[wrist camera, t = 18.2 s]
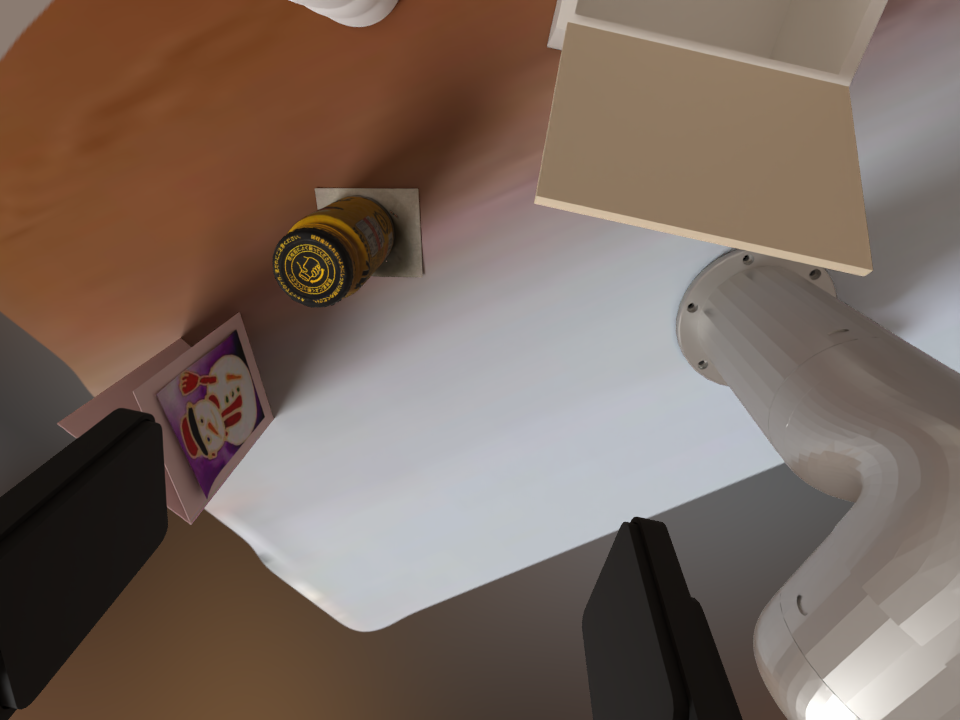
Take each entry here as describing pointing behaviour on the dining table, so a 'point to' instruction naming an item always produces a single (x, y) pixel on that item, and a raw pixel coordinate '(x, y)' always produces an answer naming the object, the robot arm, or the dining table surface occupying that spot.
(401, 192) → the condiment
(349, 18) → the water bottle
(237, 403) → the greeting card
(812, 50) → the carton
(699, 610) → the robot arm
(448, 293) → the dining table surface
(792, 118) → the flap
